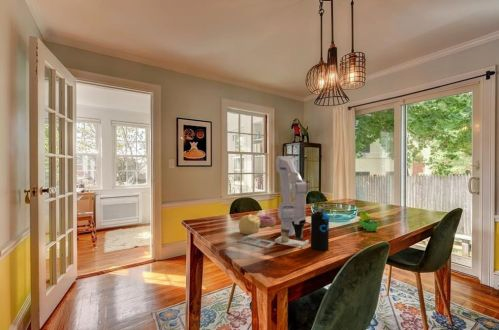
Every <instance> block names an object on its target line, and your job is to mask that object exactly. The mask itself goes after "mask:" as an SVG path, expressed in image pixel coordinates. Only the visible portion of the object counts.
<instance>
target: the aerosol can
mask: <svg viewBox="0 0 499 330" xmlns="http://www.w3.org/2000/svg"><path fill="white" fill-rule="evenodd" d="M310 219H311V220H310V222H311V223H310V225H311V226H310V249H311V250H313V251H316V252H327V251H329V246H330V245H329V239H330V237H329V235H330V233H329V231H330V230H329V229H330V216H329V214H327V213H326V212H324V211H323V207H322V206H318V207H317V211H315V212H313V213H312V214H310Z"/></svg>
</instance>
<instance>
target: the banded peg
mask: <svg viewBox="0 0 499 330" xmlns="http://www.w3.org/2000/svg"><path fill="white" fill-rule="evenodd" d="M303 235H304V227H303V228H302V233H301V237H300V238H298V237H296V236H295V235H294V240H297V241H303V240H304V236H303Z"/></svg>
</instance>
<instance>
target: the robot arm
mask: <svg viewBox="0 0 499 330" xmlns="http://www.w3.org/2000/svg"><path fill="white" fill-rule="evenodd" d="M295 165H296V158H295V156H294V155H293V156H288V155H287V156H284V155H281V156H280V155H278V156H276V159H275V168H276V172H277V173H279V178H280V188H281V199H282V202H281V203H279V205H278V206H277V207H278V208H277V217H278V219H279V220H280V229H281V228H289V237H292V236H294V237H295V236H296V237H298V238H300V237H301V233H302V228H303V229H304V228H305V224H306V222H307V219H306V218H307V216H306V208H307V207H306V205H307V203H306V201H307V200H306V199H307V198H306V197H307V196H306V195H307V194H308V193H309V184H308V183H307V181H305V180H303V177H302V176H301V174H300V173H299V172H298V171H297V170H296V167H295ZM290 183H291V185H290ZM291 192H292V193H291ZM291 194H292V196H291ZM292 198H293V199H292ZM292 200H293V201H292ZM280 234H281V235H282V232H281V231H280Z"/></svg>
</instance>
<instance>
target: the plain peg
mask: <svg viewBox="0 0 499 330" xmlns="http://www.w3.org/2000/svg"><path fill="white" fill-rule="evenodd" d="M281 232H282V234H281V236H282V237H281V241H282V242H289V239H290V236H289V228H281V227H280V233H281Z"/></svg>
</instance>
